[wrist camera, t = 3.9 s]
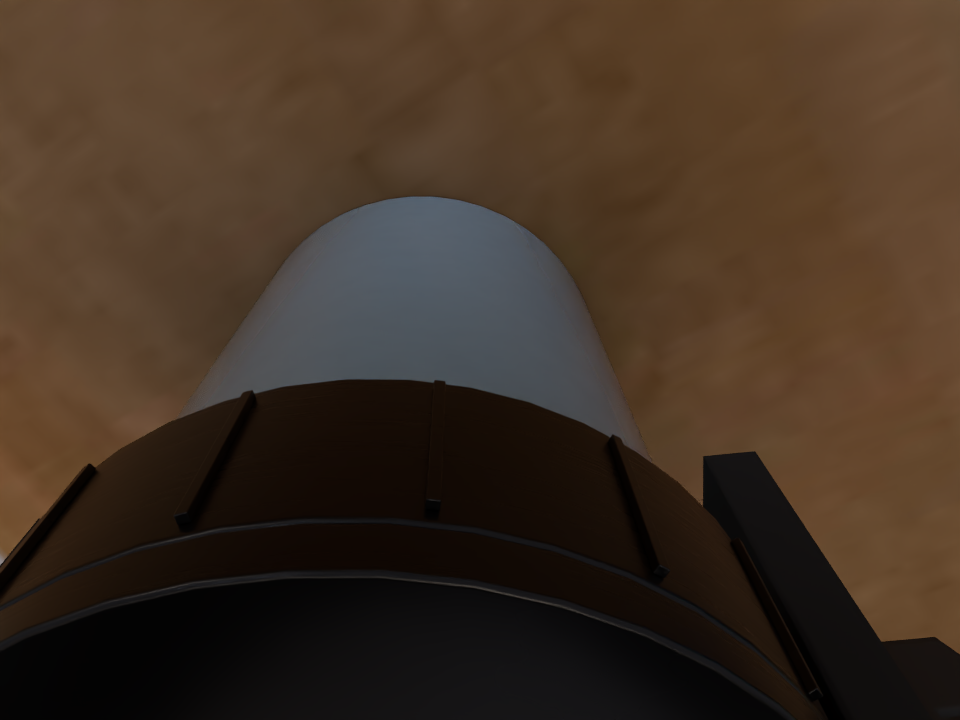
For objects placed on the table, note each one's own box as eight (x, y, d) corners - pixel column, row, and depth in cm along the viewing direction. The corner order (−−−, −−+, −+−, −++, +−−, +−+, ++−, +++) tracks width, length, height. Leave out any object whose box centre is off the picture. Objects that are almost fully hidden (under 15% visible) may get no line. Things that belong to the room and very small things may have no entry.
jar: (187, 289, 20) (-308, 803, 7) (508, 133, 18) (614, 407, 6) (356, 556, 22) (222, 1267, 10) (645, 434, 21) (917, 1063, 9)
